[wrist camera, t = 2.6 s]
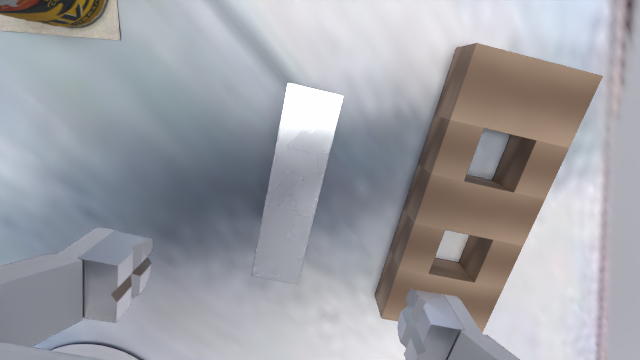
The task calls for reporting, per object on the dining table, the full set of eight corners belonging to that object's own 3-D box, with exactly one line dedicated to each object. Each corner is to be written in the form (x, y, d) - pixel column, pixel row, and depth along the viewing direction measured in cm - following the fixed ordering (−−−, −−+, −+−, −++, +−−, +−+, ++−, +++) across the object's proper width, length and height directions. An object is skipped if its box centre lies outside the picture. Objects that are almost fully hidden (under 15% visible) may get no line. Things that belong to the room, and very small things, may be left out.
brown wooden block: (464, 312, 30) (480, 336, 27) (374, 295, 29) (381, 318, 27) (568, 76, 24) (602, 75, 21) (456, 47, 23) (476, 43, 20)
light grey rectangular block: (302, 231, 27) (297, 284, 20) (267, 224, 27) (251, 276, 20) (334, 91, 24) (343, 96, 17) (295, 82, 24) (287, 82, 16)
